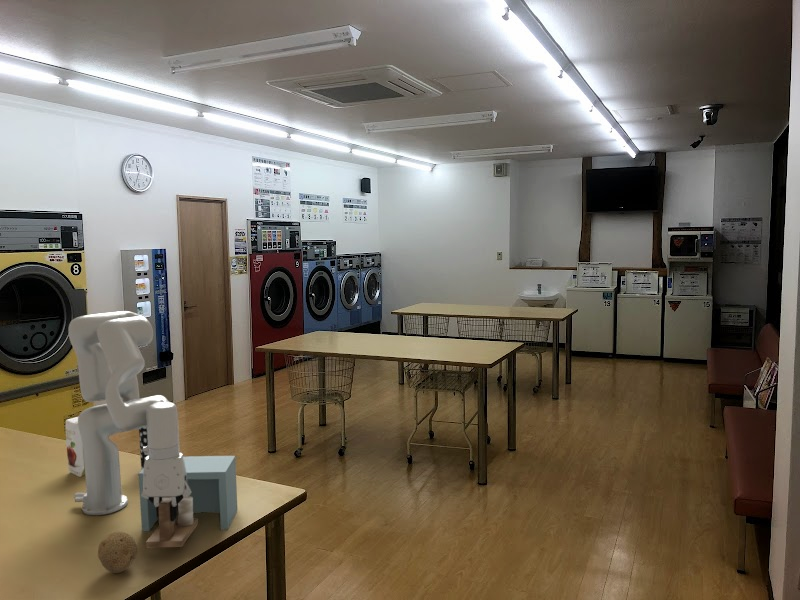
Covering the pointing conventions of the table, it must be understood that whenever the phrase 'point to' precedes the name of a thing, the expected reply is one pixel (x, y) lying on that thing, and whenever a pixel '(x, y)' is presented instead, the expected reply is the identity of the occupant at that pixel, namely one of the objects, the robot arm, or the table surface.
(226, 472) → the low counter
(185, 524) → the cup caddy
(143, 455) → the white-spotted black cylinder
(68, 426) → the juice carton
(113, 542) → the natural sponge
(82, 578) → the table surface
